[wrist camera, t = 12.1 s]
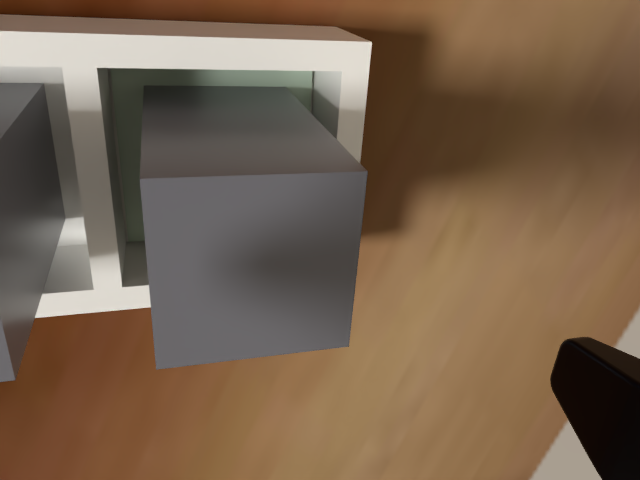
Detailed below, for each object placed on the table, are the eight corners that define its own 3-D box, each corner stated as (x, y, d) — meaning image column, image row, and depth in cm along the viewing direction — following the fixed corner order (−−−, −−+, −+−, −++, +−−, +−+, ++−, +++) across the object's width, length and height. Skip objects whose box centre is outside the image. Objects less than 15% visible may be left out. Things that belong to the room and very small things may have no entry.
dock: (320, 242, 22) (347, 288, 19) (-133, 273, 18) (-189, 338, 15) (335, 26, 18) (371, 42, 15) (-227, 6, 14) (-326, 20, 11)
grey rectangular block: (280, 210, 20) (348, 346, 13) (153, 217, 19) (156, 369, 12) (285, 86, 18) (367, 171, 11) (143, 85, 17) (139, 178, 10)
